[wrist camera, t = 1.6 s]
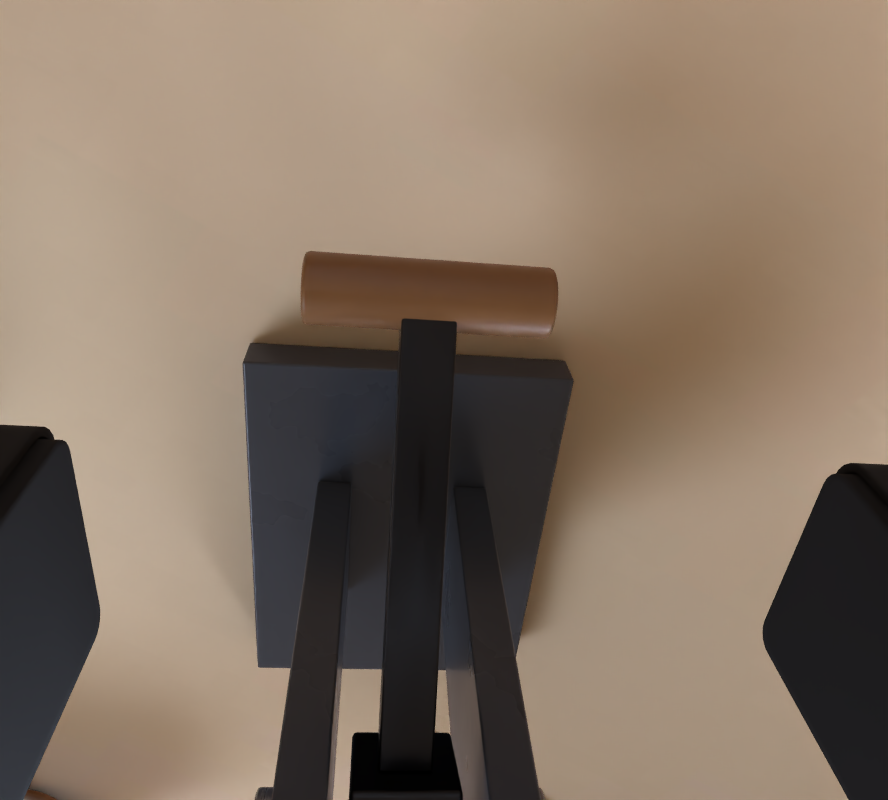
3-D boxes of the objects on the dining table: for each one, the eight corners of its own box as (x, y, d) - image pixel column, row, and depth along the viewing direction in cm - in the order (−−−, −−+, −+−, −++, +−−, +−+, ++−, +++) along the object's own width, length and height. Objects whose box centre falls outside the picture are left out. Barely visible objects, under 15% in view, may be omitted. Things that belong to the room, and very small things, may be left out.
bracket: (249, 342, 20) (109, 713, 10) (565, 359, 21) (722, 718, 11) (262, 641, 26) (182, 1060, 16) (508, 645, 27) (576, 1045, 17)
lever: (310, 259, 16) (300, 240, 13) (539, 275, 16) (567, 260, 14) (282, 853, 16) (267, 937, 14) (504, 850, 17) (526, 931, 14)
